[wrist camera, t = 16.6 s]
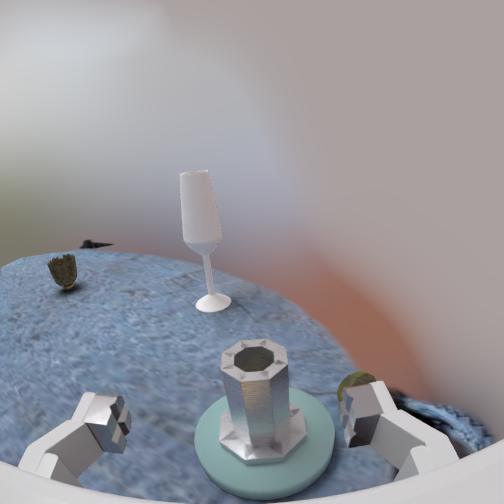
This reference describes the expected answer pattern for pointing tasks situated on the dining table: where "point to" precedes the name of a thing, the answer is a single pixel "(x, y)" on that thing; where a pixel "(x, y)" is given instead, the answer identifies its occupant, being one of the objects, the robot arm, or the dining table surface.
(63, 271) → the cup
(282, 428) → the sleeve
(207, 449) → the hub
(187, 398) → the dining table surface
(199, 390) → the dining table surface
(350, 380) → the lime
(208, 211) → the champagne flute
